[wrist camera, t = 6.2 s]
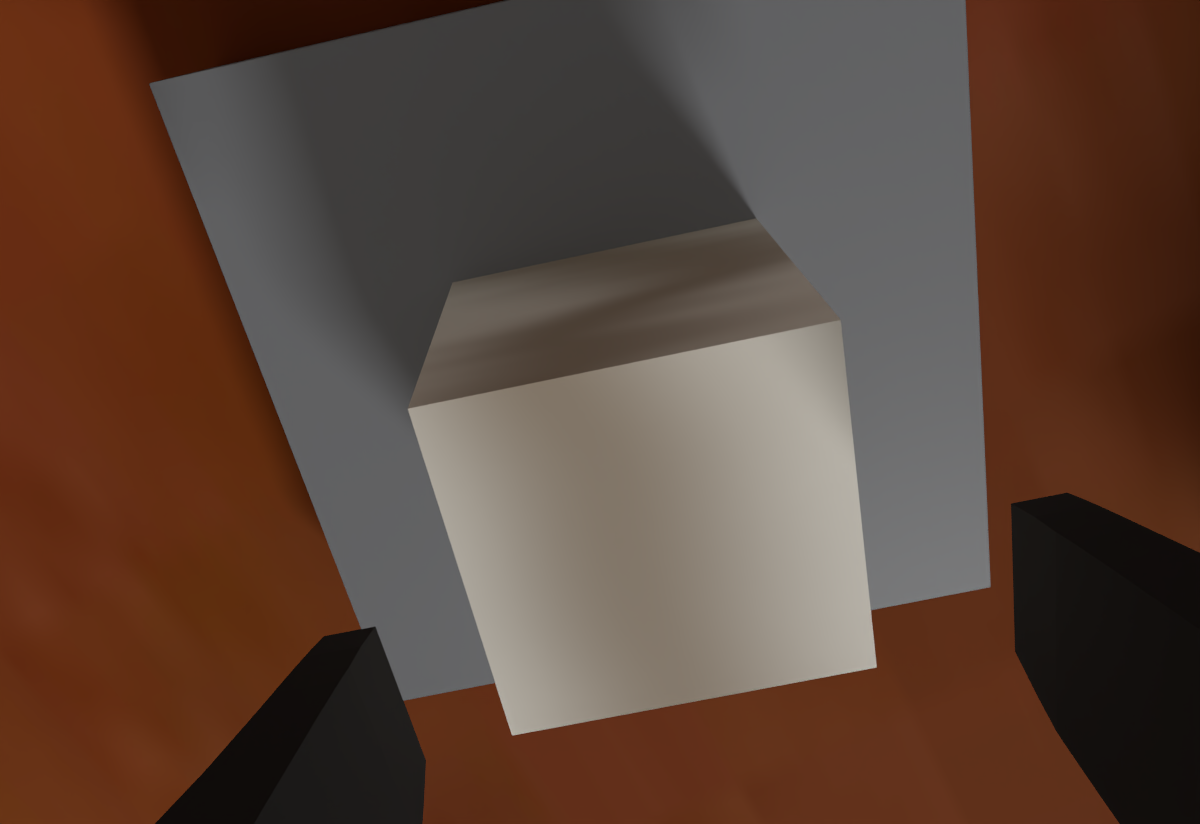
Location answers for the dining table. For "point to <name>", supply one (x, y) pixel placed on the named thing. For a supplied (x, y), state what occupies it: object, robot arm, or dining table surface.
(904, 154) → the gray base
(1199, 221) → the dining table surface
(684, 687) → the cream cube
